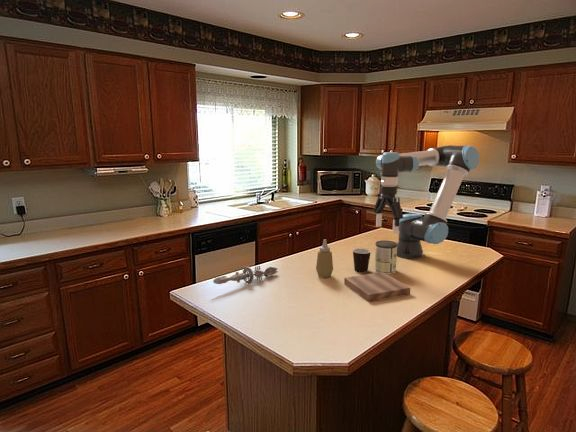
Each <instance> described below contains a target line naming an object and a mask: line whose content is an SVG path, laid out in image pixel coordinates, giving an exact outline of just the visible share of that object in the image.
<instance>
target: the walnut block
mask: <svg viewBox="0 0 576 432" xmlns="http://www.w3.org/2000/svg"><path fill="white" fill-rule="evenodd" d="M343 282H344V283H343V284H344V285H345V286H346V287H347V288H349V289H350V290H352V291H353V292H354V293H356V294H358V295H359V296H360V297H362V299H363V300H365V301H367V302H368V303H370V302H375V301H380V300H387V299H394V298H398V297H403V296H408V295H411V287H410V286H408V285H407V284H405V283H403V282H401V281H399V280H397V279H395V278H394V277H393V276H391V275H390V274H385V273H383V272H380V273H377V272H374V273H368V274H360V275H354V276H347V277H344V281H343Z"/></svg>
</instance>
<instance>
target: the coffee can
mask: <svg viewBox="0 0 576 432" xmlns="http://www.w3.org/2000/svg"><path fill="white" fill-rule="evenodd" d="M397 243H398V242H396V241H391V240H383V239H382V240H378V241H376V242H375V255H374V257H375V258H374V271H375V273H380V272H383V273H385V274H387V275H393V274H395V273H396V272H397V257H398V256H397Z"/></svg>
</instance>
